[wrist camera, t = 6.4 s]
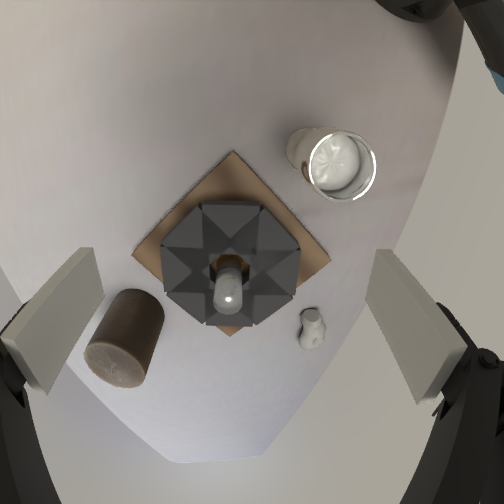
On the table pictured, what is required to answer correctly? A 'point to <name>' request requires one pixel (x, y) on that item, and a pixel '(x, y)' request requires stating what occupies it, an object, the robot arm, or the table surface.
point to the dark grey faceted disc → (237, 243)
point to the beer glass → (333, 162)
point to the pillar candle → (126, 339)
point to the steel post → (228, 284)
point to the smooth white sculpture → (312, 330)
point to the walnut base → (233, 189)
